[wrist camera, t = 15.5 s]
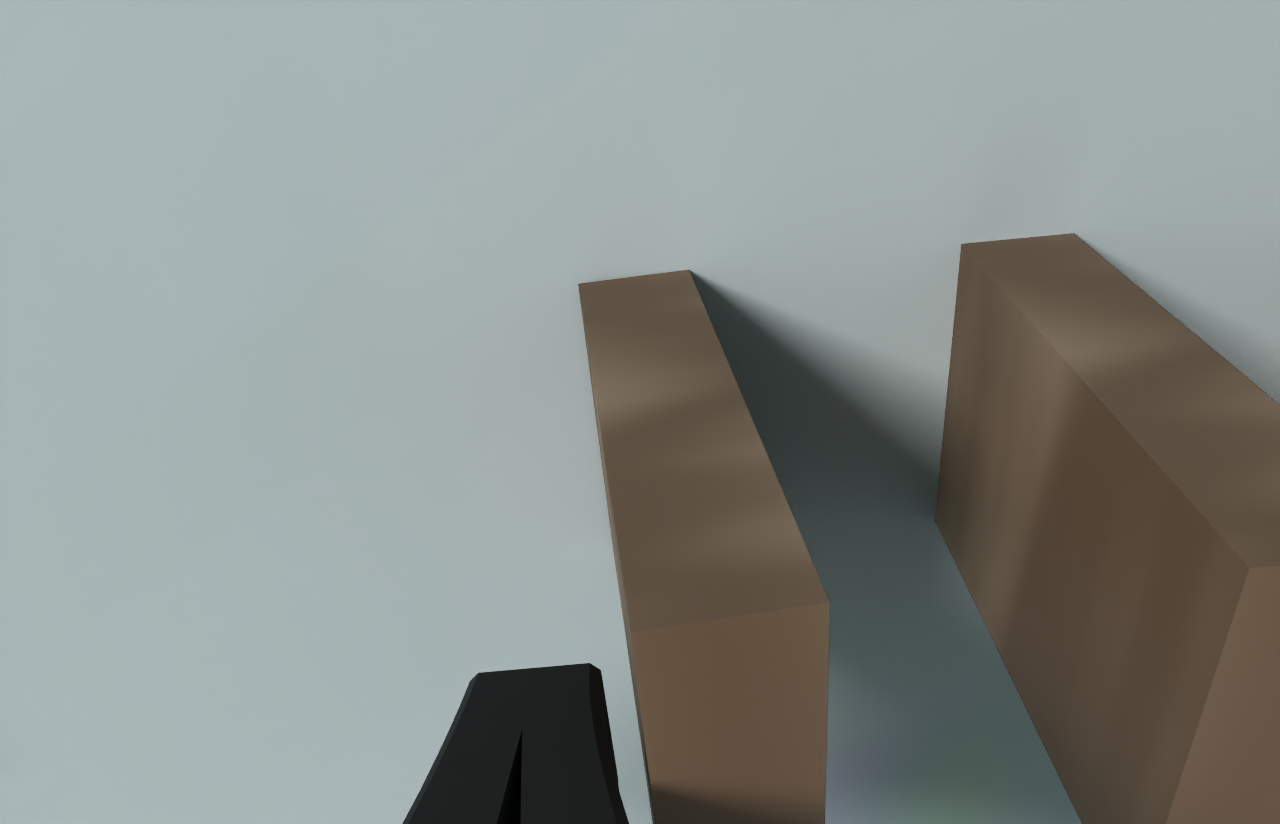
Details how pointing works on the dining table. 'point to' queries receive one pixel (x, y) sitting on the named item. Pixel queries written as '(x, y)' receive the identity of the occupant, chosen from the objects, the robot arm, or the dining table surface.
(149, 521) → the dining table surface
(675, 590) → the domino
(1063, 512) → the domino
